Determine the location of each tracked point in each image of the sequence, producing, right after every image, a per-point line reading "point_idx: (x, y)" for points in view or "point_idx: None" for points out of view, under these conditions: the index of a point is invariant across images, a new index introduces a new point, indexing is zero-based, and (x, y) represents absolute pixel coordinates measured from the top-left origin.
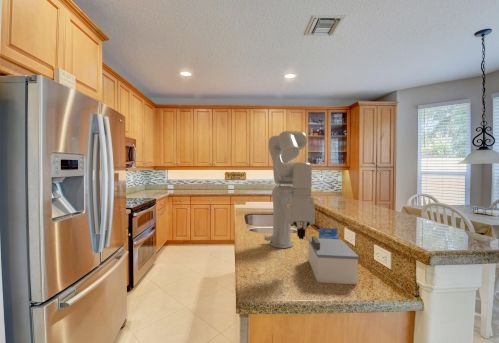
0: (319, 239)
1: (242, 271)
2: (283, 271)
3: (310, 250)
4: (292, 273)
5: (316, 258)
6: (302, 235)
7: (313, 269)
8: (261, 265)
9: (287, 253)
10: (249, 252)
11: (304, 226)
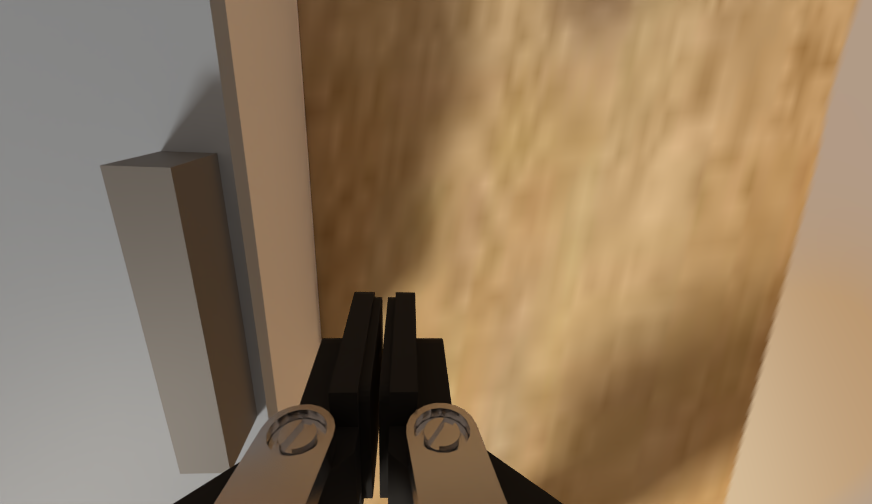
0: (168, 498)
1: (798, 146)
2: (519, 175)
3: (292, 369)
4: (462, 146)
5: (243, 50)
6: (367, 316)
7: (304, 181)
8: (648, 260)
9: None
10: (679, 446)
11: (293, 456)
